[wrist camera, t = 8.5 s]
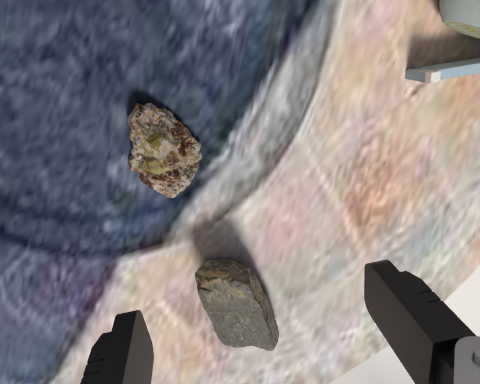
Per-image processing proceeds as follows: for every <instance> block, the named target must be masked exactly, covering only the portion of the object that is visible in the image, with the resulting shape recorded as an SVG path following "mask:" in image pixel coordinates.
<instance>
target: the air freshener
mask: <svg viewBox="0 0 480 384" xmlns="http://www.w3.org/2000/svg"><path fill="white" fill-rule="evenodd" d="M439 6H440V14H441V18H442V21H443V23H444V25H446V26H447V27H449V28H451V29H453V30H455V31H457V32H460V33H463V34H466V35H469V36H472V37H475V38H479V39H480V0H439Z"/></svg>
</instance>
